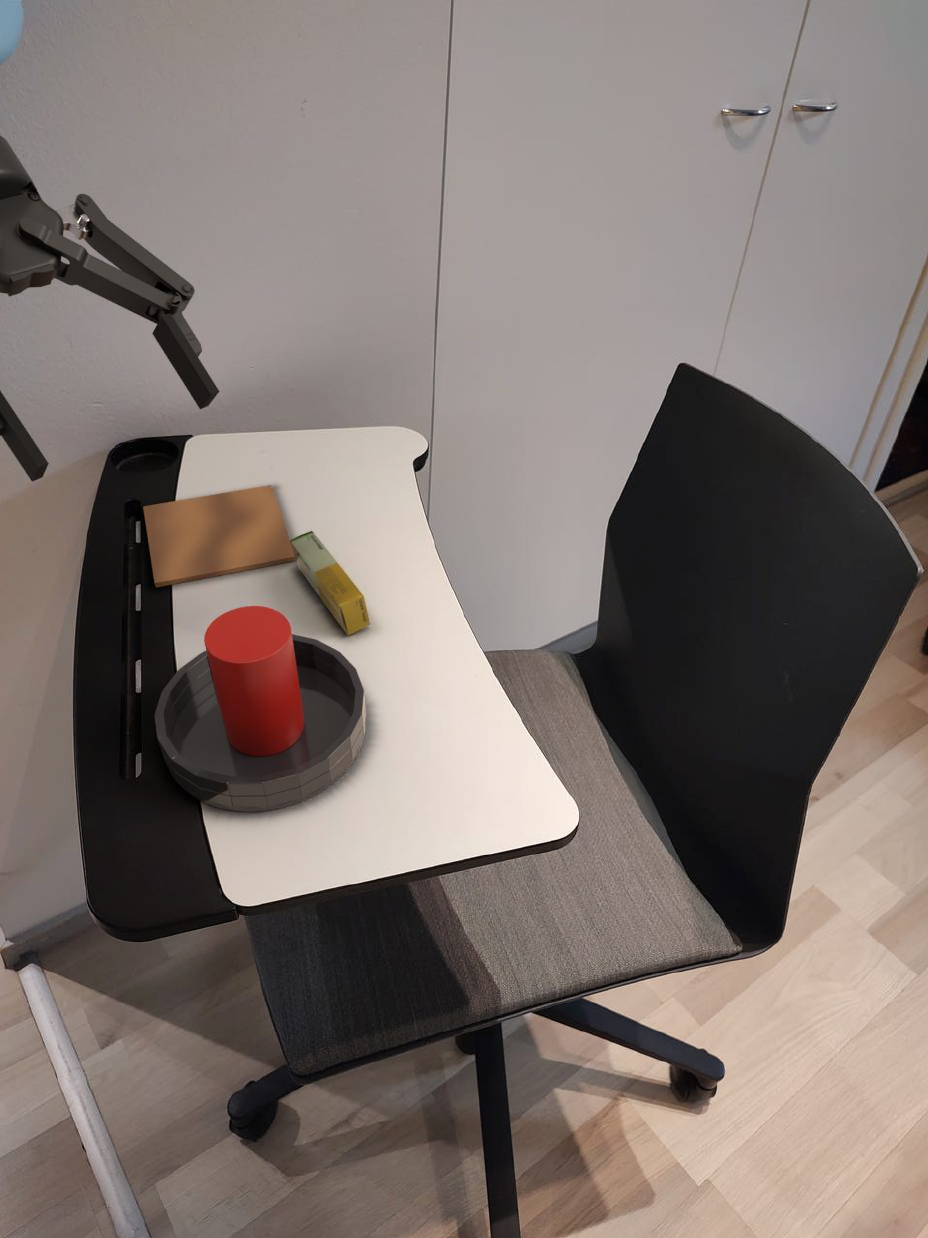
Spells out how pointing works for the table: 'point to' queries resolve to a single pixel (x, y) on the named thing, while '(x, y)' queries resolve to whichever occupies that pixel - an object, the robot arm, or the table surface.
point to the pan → (273, 780)
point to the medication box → (330, 582)
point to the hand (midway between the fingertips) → (130, 435)
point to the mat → (216, 535)
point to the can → (256, 679)
